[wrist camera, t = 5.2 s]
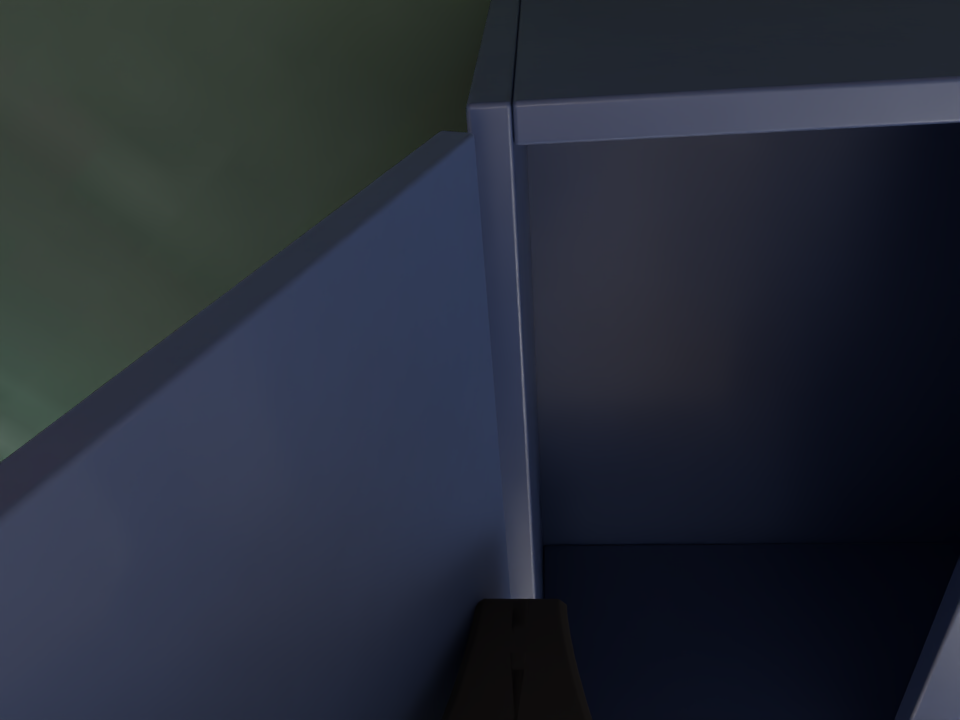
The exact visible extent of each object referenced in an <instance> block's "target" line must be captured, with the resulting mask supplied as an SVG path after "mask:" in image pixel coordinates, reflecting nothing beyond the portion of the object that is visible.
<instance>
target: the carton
mask: <svg viewBox="0 0 960 720" xmlns="http://www.w3.org/2000/svg"><path fill="white" fill-rule="evenodd" d="M466 117H467V129H468V133H472V134H473V135H474V139H475V152H476V165H477V177H478V190H479V203H480V215H481V228H482V241H483V253H484V266H485V279H486V291H487V304H488V317H489V329H490V342H491V355H492V367H493V380H494V393H495V405H496V418H497V430H498V443H499V456H500V468H501V481H502V494H503V506H504V519H505V532H506V544H507V557H508V570H509V582H510V595H511V599H560V600H561V601H562V602H564V603H565V604H567V614H568V623H569V629H570V635H571V641H572V645H573V650H574V655H575V659H576V663H577V668H578V672H579V675H580V679H581V683H582V686H583V690H584V694H585V697H586V701H587V704H588V707H589V711H590V714H591V717H592V720H960V0H491V3H490V7H489V11H488V16H487V20H486V24H485V28H484V33H483V37H482V41H481V45H480V50H479V54H478V58H477V63H476V67H475V71H474V75H473V80H472V84H471V88H470V92H469V97H468V101H467V105H466Z"/></svg>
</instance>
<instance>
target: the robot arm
mask: <svg viewBox="0 0 960 720" xmlns="http://www.w3.org/2000/svg"><path fill="white" fill-rule="evenodd" d="M441 720H592V717H591V714H590V711H589V707H588V704H587V701H586V697H585V694H584V690H583V686H582V683H581V679H580V675H579V672H578V668H577V663H576V659H575V655H574V650H573V645H572V641H571V635H570V629H569V623H568V614H567V604H565V603H564V602H562V601H561V600H560V599H482V600H481V601H480V602H478V604H477V606H476V608H475V612H474V617H473V622H472V626H471V630H470V634H469V638H468V642H467V645H466V649H465V652H464V656H463V659H462V662H461V665H460V669H459V671H458V674H457V677H456V680H455V683H454V686H453V689H452V692H451V695H450V698H449V701H448V703H447V706H446V709H445V711H444V714H443V716H442V719H441Z"/></svg>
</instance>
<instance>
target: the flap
mask: <svg viewBox="0 0 960 720" xmlns="http://www.w3.org/2000/svg"><path fill="white" fill-rule="evenodd" d="M482 599H511V595H510V582H509V570H508V557H507V544H506V532H505V519H504V506H503V494H502V481H501V468H500V456H499V443H498V430H497V418H496V405H495V393H494V380H493V367H492V355H491V342H490V329H489V317H488V304H487V291H486V279H485V266H484V253H483V241H482V228H481V215H480V203H479V190H478V177H477V165H476V152H475V139H474V135H473V134H472V133H466V132H453V131H440V132H438V133H437V134H436V135H434V136H433V137H432V138H430V139H429V140H428V141H426V142H425V143H424V144H422V145H421V146H420V147H418V148H417V149H416V150H414V151H413V152H412V153H411V154H409V155H408V156H407V157H405V158H404V159H403V160H401V161H400V162H399V163H397V164H396V165H395V166H393V167H392V168H391V169H389V170H388V171H387V172H385V173H384V174H383V175H381V176H380V177H379V178H377V179H376V180H375V181H373V182H372V183H371V184H369V185H368V186H367V187H365V188H364V189H363V190H361V191H360V192H359V193H357V194H356V195H355V196H353V197H352V198H351V199H349V200H348V201H347V202H345V203H344V204H343V205H341V206H340V207H339V208H337V209H336V210H335V211H334V212H332V213H331V214H330V215H328V216H327V217H326V218H324V219H323V220H322V221H320V222H319V223H318V224H316V225H315V226H314V227H312V228H311V229H310V230H308V231H307V232H306V233H304V234H303V235H302V236H300V237H299V238H298V239H296V240H295V241H294V242H292V243H291V244H290V245H288V246H287V247H286V248H284V249H283V250H282V251H280V252H279V253H278V254H276V255H275V256H274V257H272V258H271V259H270V260H268V261H267V262H266V263H264V264H263V265H262V266H260V267H259V268H258V269H256V270H255V271H254V272H253V273H251V274H250V275H249V276H247V277H246V278H245V279H243V280H242V281H241V282H239V283H238V284H237V285H235V286H234V287H233V288H231V289H230V290H229V291H227V292H226V293H225V294H223V295H222V296H221V297H219V298H218V299H217V300H215V301H214V302H213V303H211V304H210V305H209V306H207V307H206V308H205V309H203V310H202V311H201V312H199V313H198V314H197V315H195V316H194V317H193V318H191V319H190V320H189V321H187V322H186V323H185V324H183V325H182V326H181V327H179V328H178V329H177V330H176V331H174V332H173V333H172V334H170V335H169V336H168V337H166V338H165V339H164V340H162V341H161V342H160V343H158V344H157V345H156V346H154V347H153V348H152V349H150V350H149V351H148V352H146V353H145V354H144V355H142V356H141V357H140V358H138V359H137V360H136V361H134V362H133V363H132V364H130V365H129V366H128V367H126V368H125V369H124V370H122V371H121V372H120V373H118V374H117V375H116V376H114V377H113V378H112V379H110V380H109V381H108V382H106V383H105V384H104V385H102V386H101V387H100V388H99V389H97V390H96V391H95V392H93V393H92V394H91V395H89V396H88V397H87V398H85V399H84V400H83V401H81V402H80V403H79V404H77V405H76V406H75V407H73V408H72V409H71V410H69V411H68V412H67V413H65V414H64V415H63V416H61V417H60V418H59V419H57V420H56V421H55V422H53V423H52V424H51V425H49V426H48V427H47V428H45V429H44V430H43V431H41V432H40V433H39V434H37V435H36V436H35V437H33V438H32V439H31V440H29V441H28V442H27V443H25V444H24V445H23V446H22V447H20V448H19V449H18V450H16V451H15V452H14V453H12V454H11V455H10V456H8V457H7V458H6V459H4V460H3V461H2V462H0V720H441V719H442V716H443V714H444V711H445V709H446V706H447V703H448V701H449V698H450V695H451V692H452V689H453V686H454V683H455V680H456V677H457V674H458V671H459V669H460V665H461V662H462V659H463V656H464V652H465V649H466V645H467V642H468V638H469V634H470V630H471V626H472V622H473V617H474V612H475V608H476V606H477V604H478V602H480V601H481V600H482Z"/></svg>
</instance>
